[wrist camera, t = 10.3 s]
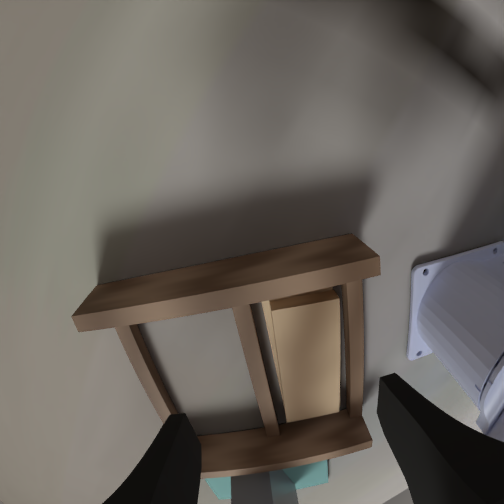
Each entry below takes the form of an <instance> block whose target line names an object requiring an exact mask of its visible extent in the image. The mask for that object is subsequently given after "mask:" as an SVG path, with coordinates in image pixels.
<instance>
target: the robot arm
mask: <svg viewBox="0 0 504 504" xmlns="http://www.w3.org/2000/svg"><path fill="white" fill-rule="evenodd" d="M493 250H494V251H493ZM424 269H426V271H425V273H423V271H424ZM431 353H434V354H435V355H436V356H437V358H438V359H439V360H440V361H441V362H442V364H443V365H444V366H445V367H446V369H447V370H448V371H449V372H450V374H451V375H452V376H453V377H454V378H455V380H456V381H457V382H458V384H459V385H460V386H461V387H462V389H463V390H464V391H465V392H466V394H467V395H468V396H469V398H470V399H471V400H472V401H473V403H474V404H475V405H476V407H477V408H478V409H479V410H480V415H479V417H478V419H477V421H476V424H477V425H478V426H479V428H480V429H481V431H482V432H483V433H484V434H482V433H480V432H478V431H476V430H474V429H472V428H470V427H468V426H466V425H464V424H463V423H461V422H459V421H457V420H456V419H454V418H453V417H451V416H450V415H448V414H447V413H445V412H444V411H442V410H441V409H439V408H438V407H437V406H435V405H434V404H433V403H431V402H430V401H429V400H427V399H426V398H425V397H423V396H422V395H421V394H420V393H418V392H417V391H416V390H415V389H414V388H412V387H411V386H410V385H409V384H408V383H407V382H405V381H404V380H403V379H402V378H401V377H400V376H398V375H397V374H396V373H393V374H389V375H386V376H383V377H380V381H379V394H378V406H377V414H378V417H379V421H380V424H381V427H382V429H383V432H384V435H385V437H386V439H387V441H388V443H389V446H390V448H391V450H392V452H393V454H394V456H395V458H396V460H397V462H398V464H399V466H400V468H401V470H402V473H403V475H404V477H405V479H406V482H407V484H408V487H409V490H410V493H411V496H412V500H413V503H414V504H504V242H503V241H499V242H496V243H493V244H490V245H486V246H483V247H480V248H476V249H473V250H470V251H466V252H463V253H459V254H456V255H452V256H449V257H445V258H441V259H438V260H434V261H431V262H427V263H423V264H419V265H417V266H415V267H414V268H413V270H412V273H411V303H410V321H409V334H408V345H407V358H408V359H409V360H414V359H417V358H420V357H423V356H425V355H428V354H431ZM201 469H202V451H201V443H200V441H199V439H198V437H197V435H196V434H195V432H194V430H193V428H192V426H191V424H190V422H189V420H188V418H187V416H186V414H185V413H183V414H170V415H169V416H168V418H167V419H166V421H165V423H164V424H163V426H162V428H161V429H160V431H159V433H158V434H157V436H156V438H155V439H154V441H153V442H152V444H151V445H150V447H149V448H148V450H147V451H146V453H145V454H144V456H143V457H142V459H141V460H140V462H139V463H138V464H137V466H136V467H135V468H134V470H133V471H132V472H131V474H130V475H129V476H128V477H127V479H126V480H125V481H124V482H123V483H122V484H121V486H120V487H119V488H118V489H117V490H116V491H115V492H114V493H113V494H112V495H111V496H110V497H109V498H108V499H107V500H106V501H105V502H104V503H102V504H197V502H198V494H199V486H200V477H201Z"/></svg>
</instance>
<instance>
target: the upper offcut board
mask: <svg viewBox="0 0 504 504" xmlns="http://www.w3.org/2000/svg"><path fill="white" fill-rule="evenodd" d="M269 303H270V310H271V317H272V323H273V331H274V338H275V345H276V352H277V359H278V366H279V373H280V380H281V388H282V395H283V402H284V409H285V415H286V421H287V422H292V421H298V420H303V419H308V418H313V417H318V416H323V415H328V414H332V413H336V412H339V400H340V298H339V297H338V295H337V294H336V292H335V291H334V290H329V291H324V292H318V293H313V294H307V295H302V296H296V297H290V298H284V299H278V300H272V301H269Z"/></svg>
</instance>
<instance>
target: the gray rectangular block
mask: <svg viewBox="0 0 504 504" xmlns="http://www.w3.org/2000/svg"><path fill="white" fill-rule="evenodd" d="M231 504H298V498H297V493H296V487H295V484H294V483H293V482H292V480H291V479H290V478H289V477H288V476H287V475H286V474H285V472H284V471H283V470H282V469H281V470H275V471H269V472H262V473H255V474H248V475H240V476H231Z"/></svg>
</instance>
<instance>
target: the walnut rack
mask: <svg viewBox="0 0 504 504" xmlns="http://www.w3.org/2000/svg"><path fill="white" fill-rule="evenodd" d="M378 275H381V273H380V256H379V255H378V254H377V253H375V252H374V251H373V250H372V249H371V248H369V247H368V246H367V245H366V244H364V243H363V242H362V241H361V240H360V239H358V238H357V237H356V236H355V235H353V234H352V233H351V234H346V235H342V236H337V237H332V238H327V239H322V240H317V241H312V242H307V243H302V244H298V245H293V246H288V247H283V248H278V249H273V250H268V251H263V252H258V253H253V254H249V255H244V256H239V257H234V258H229V259H224V260H219V261H214V262H209V263H204V264H199V265H194V266H189V267H185V268H180V269H175V270H170V271H165V272H160V273H155V274H150V275H145V276H140V277H135V278H130V279H125V280H120V281H115V282H110V283H105V284H100V285H97V286H96V287H95V288H94V289H93V291H92V292H91V293H90V294H89V295H88V297H87V298H86V299H85V300H84V301H83V303H82V304H81V305H80V306H79V308H78V309H77V310H76V311H75V313H74V314H73V315H72V316H71V317H72V319H73V321H74V323H75V325H76V328H77V330H78V332H84V331H92V330H99V329H106V328H113V327H115V329H116V331H117V333H118V336H119V338H120V340H121V342H122V345H123V347H124V349H125V351H126V353H127V355H128V357H129V359H130V362H131V364H132V366H133V368H134V370H135V372H136V374H137V376H138V378H139V380H140V382H141V384H142V385H143V387H144V389H145V391H146V393H147V395H148V397H149V399H150V401H151V402H152V404H153V406H154V408H155V410H156V411H157V413H158V415H159V417H160V418H161V420H162V422H163V424H164V423H165V421H166V419H167V418H168V416H169V415H170V414H178V412H177V410H176V408H175V406H174V405H173V403H172V401H171V399H170V397H169V395H168V392H167V390H166V388H165V386H164V384H163V382H162V380H161V378H160V376H159V374H158V371H157V369H156V367H155V365H154V363H153V360H152V358H151V356H150V354H149V351H148V349H147V347H146V345H145V342H144V340H143V337H142V335H141V333H140V330H139V328H138V325H137V324H140V323H147V322H153V321H159V320H165V319H171V318H177V317H183V316H189V315H195V314H200V313H206V312H211V311H217V310H222V309H227V308H232V309H233V313H234V317H235V321H236V325H237V329H238V332H239V336H240V340H241V344H242V348H243V351H244V355H245V359H246V362H247V366H248V370H249V373H250V377H251V381H252V384H253V388H254V392H255V395H256V399H257V402H258V406H259V409H260V413H261V416H262V420H263V423H264V427H263V428H257V429H251V430H244V431H237V432H230V433H222V434H213V435H203V436H197V437H198V439H199V441H200V443H201V451H202V469H201V477H200V479H206V478H219V477H230V476H240V475H248V474H255V473H262V472H269V471H275V470H281V469H286V468H292V467H297V466H301V465H306V464H311V463H315V462H319V461H324V460H328V459H332V458H335V457H339V456H343V455H347V454H350V453H354V452H357V451H360V450H364V449H367V448H370V447H372V441H373V440H372V438H371V435H370V433H369V431H368V428H367V426H366V424H365V421H364V419H363V417H362V404H363V376H364V317H363V289H362V279H366V278H370V277H374V276H378ZM337 285H341V291H342V304H343V320H344V338H345V362H346V409H344V410H341V411H339V412H336V413H332V414H328V415H323V416H318V417H313V418H308V419H304V420H299V421H295V422H290V423H285V424H280V425H278V421H277V417H276V413H275V409H274V404H273V400H272V396H271V392H270V387H269V383H268V379H267V375H266V370H265V366H264V362H263V357H262V353H261V349H260V344H259V340H258V336H257V331H256V327H255V323H254V318H253V314H252V309H251V305H250V304H253V303H258V302H263V301H268V300H273V299H278V298H282V297H287V296H292V295H296V294H301V293H306V292H310V291H315V290H319V289H324V288H328V287H332V286H337Z"/></svg>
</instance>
